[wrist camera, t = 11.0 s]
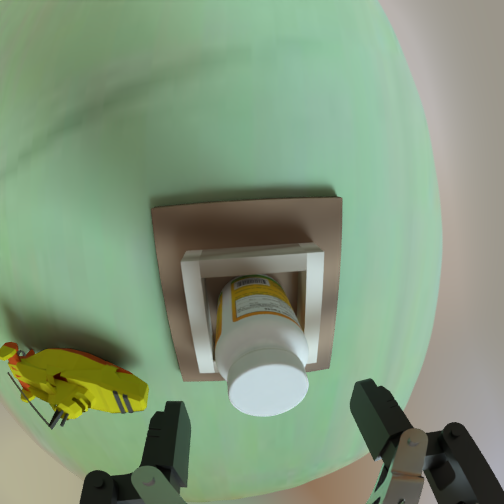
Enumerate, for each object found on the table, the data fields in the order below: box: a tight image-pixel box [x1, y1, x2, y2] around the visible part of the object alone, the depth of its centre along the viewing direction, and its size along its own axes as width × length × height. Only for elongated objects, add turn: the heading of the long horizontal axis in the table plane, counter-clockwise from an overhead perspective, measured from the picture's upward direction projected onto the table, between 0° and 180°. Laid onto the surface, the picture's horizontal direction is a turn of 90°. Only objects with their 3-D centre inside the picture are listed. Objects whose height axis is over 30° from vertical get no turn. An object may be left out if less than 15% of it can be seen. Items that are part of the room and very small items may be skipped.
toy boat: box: [0, 342, 149, 429], centre depth 18 cm, size 6×18×10 cm, turn 89°
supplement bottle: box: [215, 274, 309, 416], centre depth 16 cm, size 5×5×10 cm
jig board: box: [151, 197, 342, 381], centre depth 20 cm, size 16×14×4 cm
